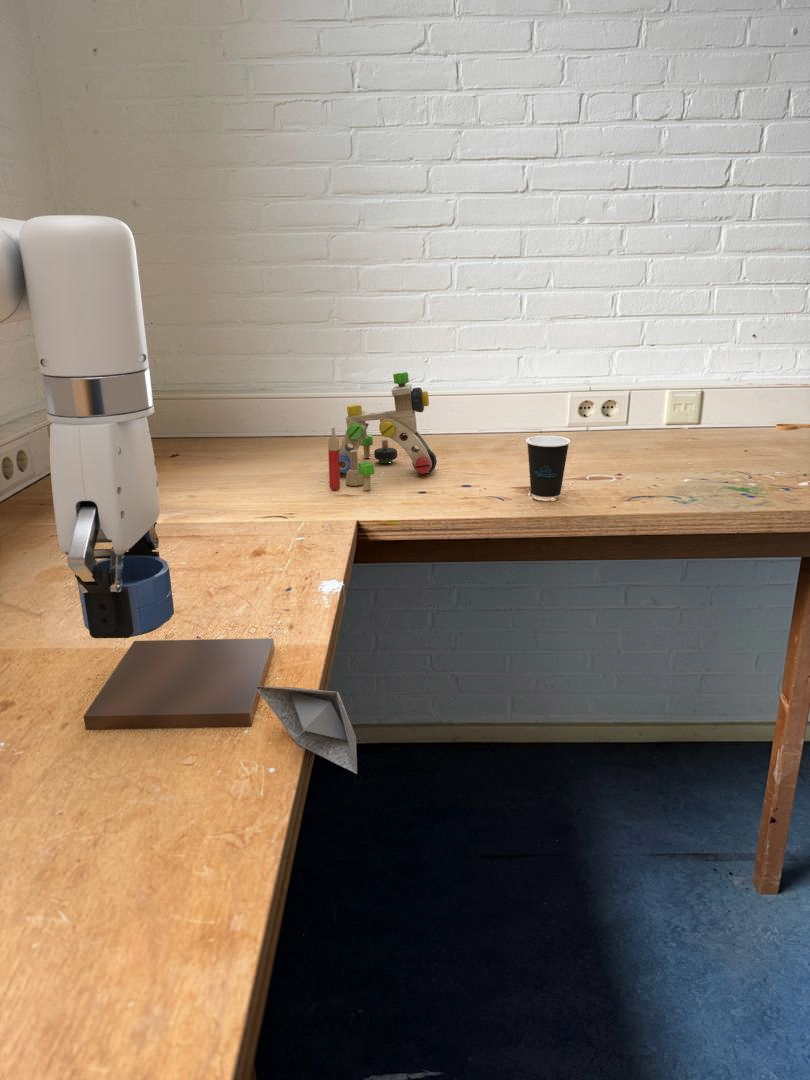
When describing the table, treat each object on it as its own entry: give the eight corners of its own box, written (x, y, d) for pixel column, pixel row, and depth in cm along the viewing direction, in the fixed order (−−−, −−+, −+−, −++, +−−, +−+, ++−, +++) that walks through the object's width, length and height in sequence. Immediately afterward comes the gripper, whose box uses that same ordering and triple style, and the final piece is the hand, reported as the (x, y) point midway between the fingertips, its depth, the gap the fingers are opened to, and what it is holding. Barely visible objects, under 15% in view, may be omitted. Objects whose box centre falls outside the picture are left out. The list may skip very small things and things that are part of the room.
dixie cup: (536, 506, 143) (539, 446, 140) (516, 494, 150) (518, 437, 147) (575, 501, 146) (578, 442, 142) (553, 490, 153) (556, 433, 149)
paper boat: (396, 723, 75) (371, 755, 66) (358, 773, 76) (328, 812, 67) (298, 644, 77) (260, 665, 68) (262, 695, 78) (220, 723, 69)
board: (85, 729, 77) (83, 716, 77) (135, 652, 92) (134, 640, 92) (251, 726, 77) (249, 713, 77) (274, 649, 92) (273, 638, 92)
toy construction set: (388, 499, 149) (386, 388, 142) (291, 484, 159) (285, 380, 152) (453, 467, 171) (454, 369, 164) (364, 456, 181) (361, 363, 174)
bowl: (71, 641, 62) (62, 587, 60) (104, 605, 68) (96, 555, 67) (159, 641, 62) (153, 586, 60) (184, 604, 68) (178, 554, 67)
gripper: (93, 379, 67) (120, 575, 73) (-11, 418, 51) (35, 667, 57) (182, 378, 67) (202, 574, 73) (107, 418, 51) (140, 667, 57)
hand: (129, 613), depth 65 cm, fingers closed on bowl, 7 cm apart
